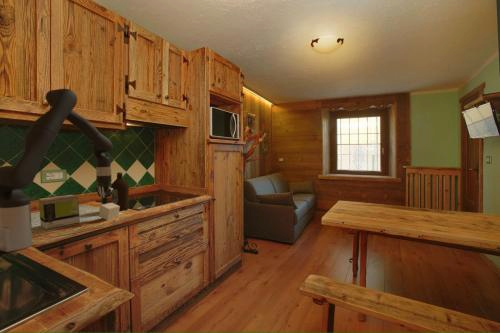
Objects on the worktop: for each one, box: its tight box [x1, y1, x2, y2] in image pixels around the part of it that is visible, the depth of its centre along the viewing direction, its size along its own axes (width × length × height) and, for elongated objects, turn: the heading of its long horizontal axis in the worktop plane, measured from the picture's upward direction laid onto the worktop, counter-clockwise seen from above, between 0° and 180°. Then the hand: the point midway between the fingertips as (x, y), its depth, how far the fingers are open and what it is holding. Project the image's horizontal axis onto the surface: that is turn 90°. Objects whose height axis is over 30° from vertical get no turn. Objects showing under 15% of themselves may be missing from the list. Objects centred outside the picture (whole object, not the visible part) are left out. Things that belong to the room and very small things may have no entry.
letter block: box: [98, 202, 120, 221], centre depth 140 cm, size 7×7×7 cm
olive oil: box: [110, 171, 130, 212], centre depth 161 cm, size 11×11×25 cm
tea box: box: [38, 194, 81, 230], centre depth 129 cm, size 15×10×15 cm, turn 141°
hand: (104, 204), depth 141 cm, fingers closed
